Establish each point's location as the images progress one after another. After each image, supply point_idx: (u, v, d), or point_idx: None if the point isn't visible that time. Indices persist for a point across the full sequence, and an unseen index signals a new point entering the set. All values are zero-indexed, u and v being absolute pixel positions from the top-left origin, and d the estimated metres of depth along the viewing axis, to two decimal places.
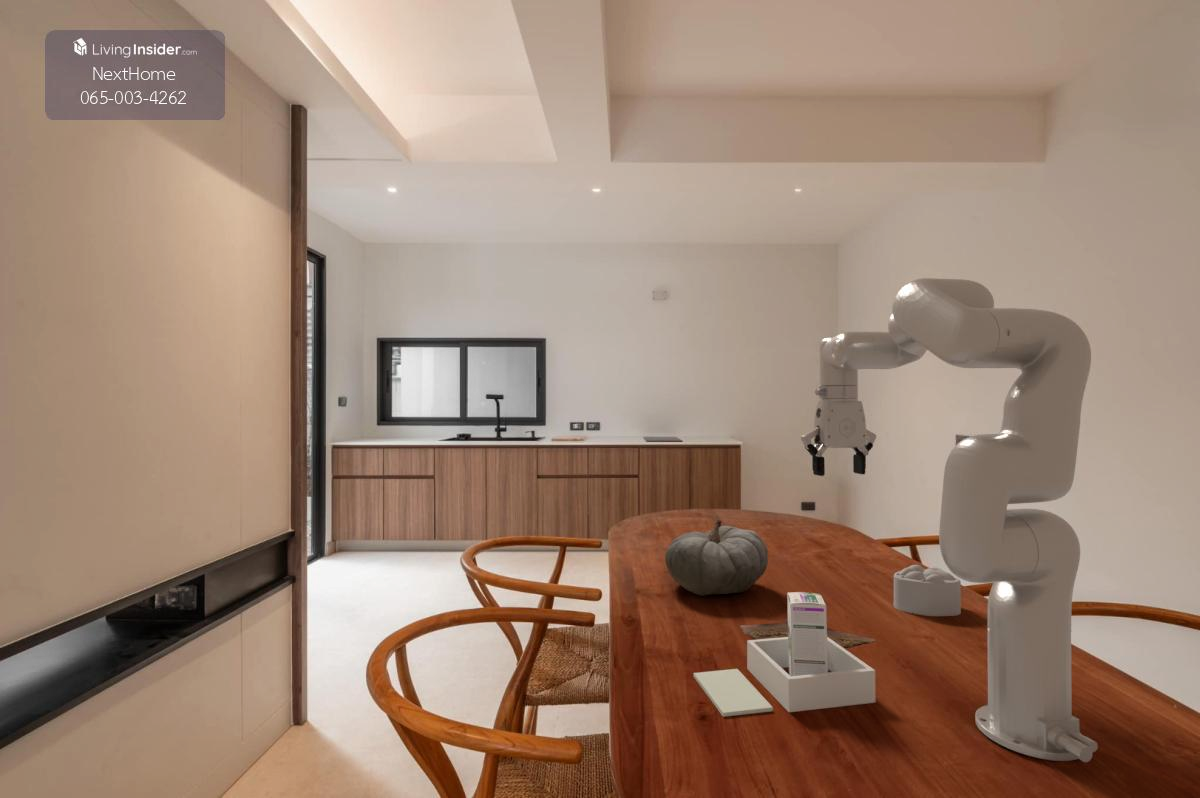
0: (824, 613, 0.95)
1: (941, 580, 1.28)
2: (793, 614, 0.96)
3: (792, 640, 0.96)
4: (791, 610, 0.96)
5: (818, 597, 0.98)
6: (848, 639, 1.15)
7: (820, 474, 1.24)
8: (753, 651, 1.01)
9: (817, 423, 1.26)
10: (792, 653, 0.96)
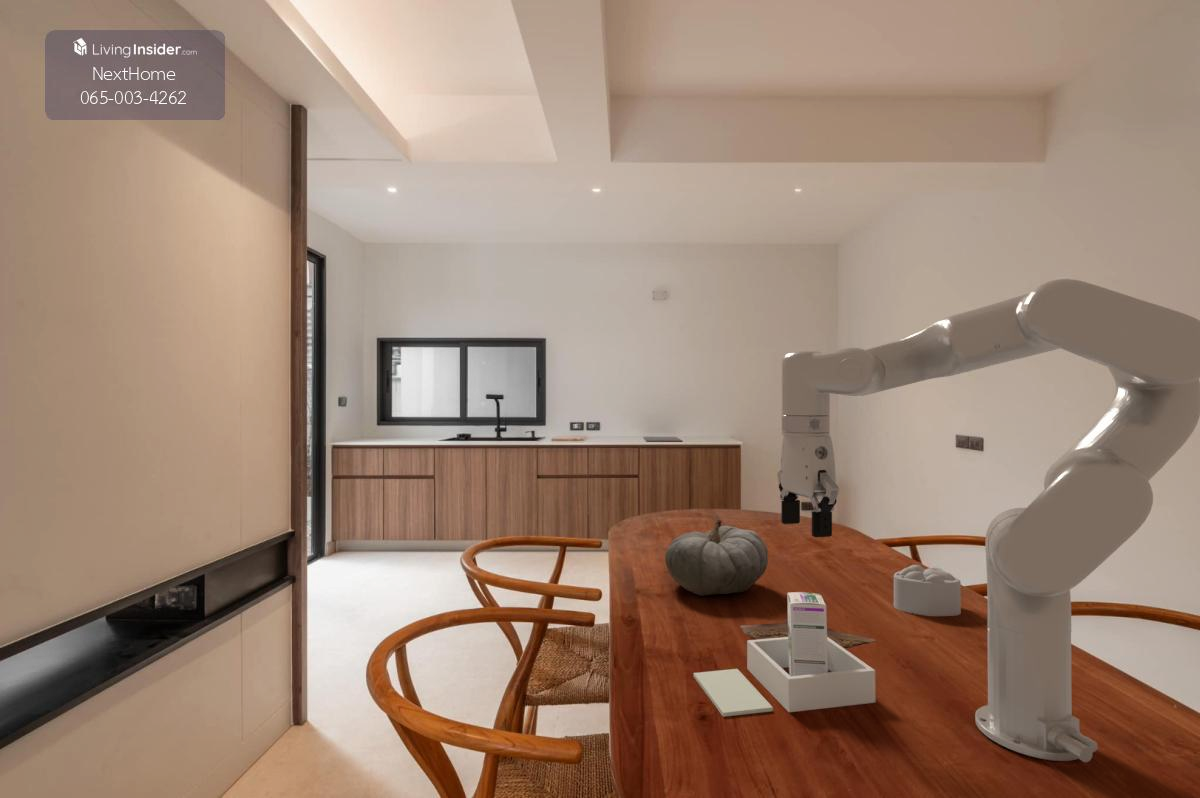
0: (824, 613, 0.95)
1: (941, 580, 1.28)
2: (793, 614, 0.96)
3: (792, 640, 0.96)
4: (791, 610, 0.96)
5: (818, 597, 0.98)
6: (848, 639, 1.15)
7: (828, 534, 0.93)
8: (753, 651, 1.01)
9: (821, 467, 0.93)
10: (792, 653, 0.96)
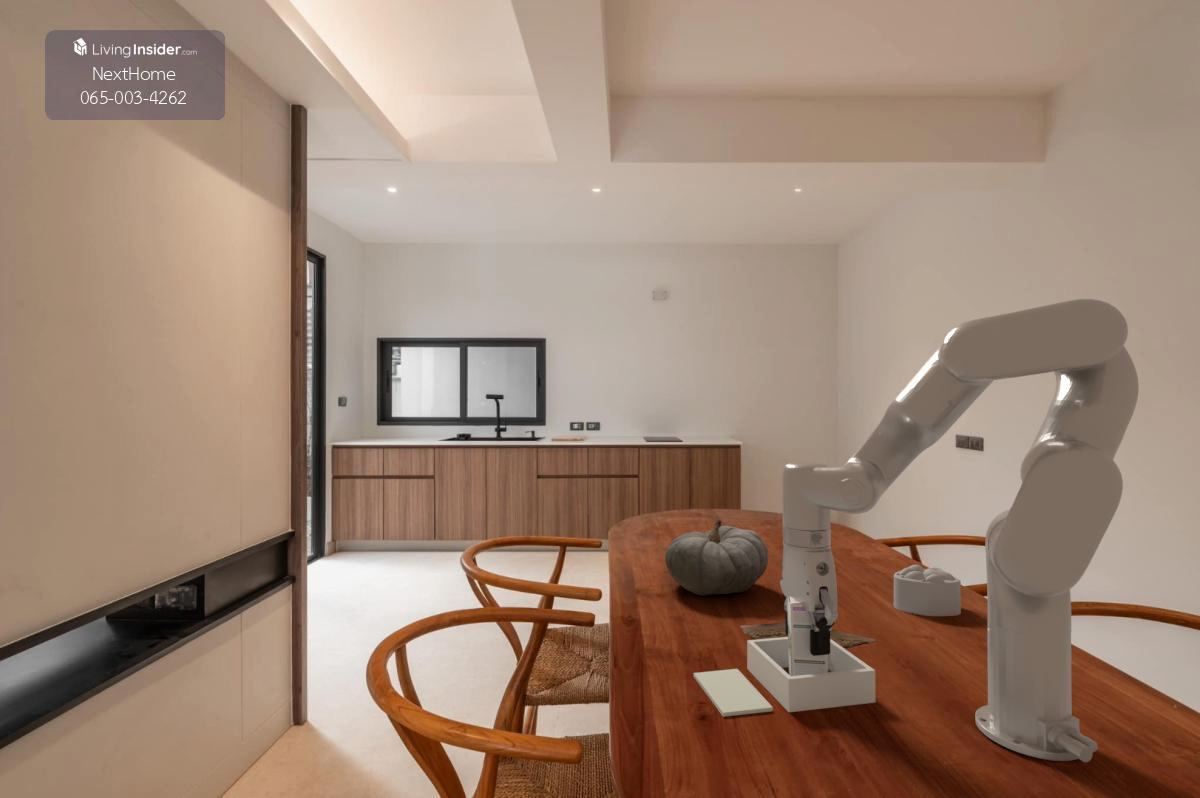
0: None
1: (941, 580, 1.28)
2: (793, 614, 0.96)
3: (792, 640, 0.96)
4: (791, 610, 0.96)
5: None
6: (848, 639, 1.15)
7: (827, 652, 0.94)
8: (753, 651, 1.01)
9: (822, 583, 0.93)
10: (792, 653, 0.96)
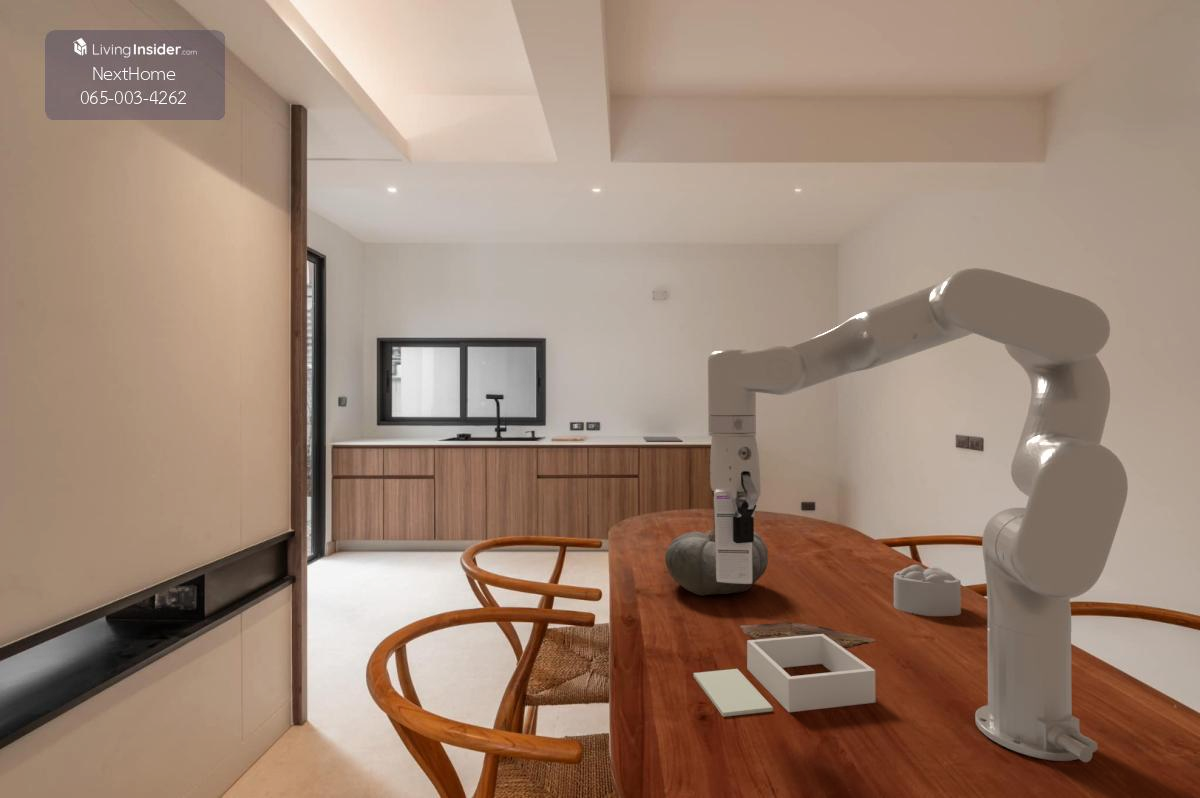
0: None
1: (941, 580, 1.28)
2: (716, 503, 0.93)
3: (716, 530, 0.93)
4: (715, 499, 0.93)
5: None
6: (848, 639, 1.15)
7: (750, 540, 0.91)
8: (753, 651, 1.01)
9: (744, 468, 0.90)
10: (716, 543, 0.93)
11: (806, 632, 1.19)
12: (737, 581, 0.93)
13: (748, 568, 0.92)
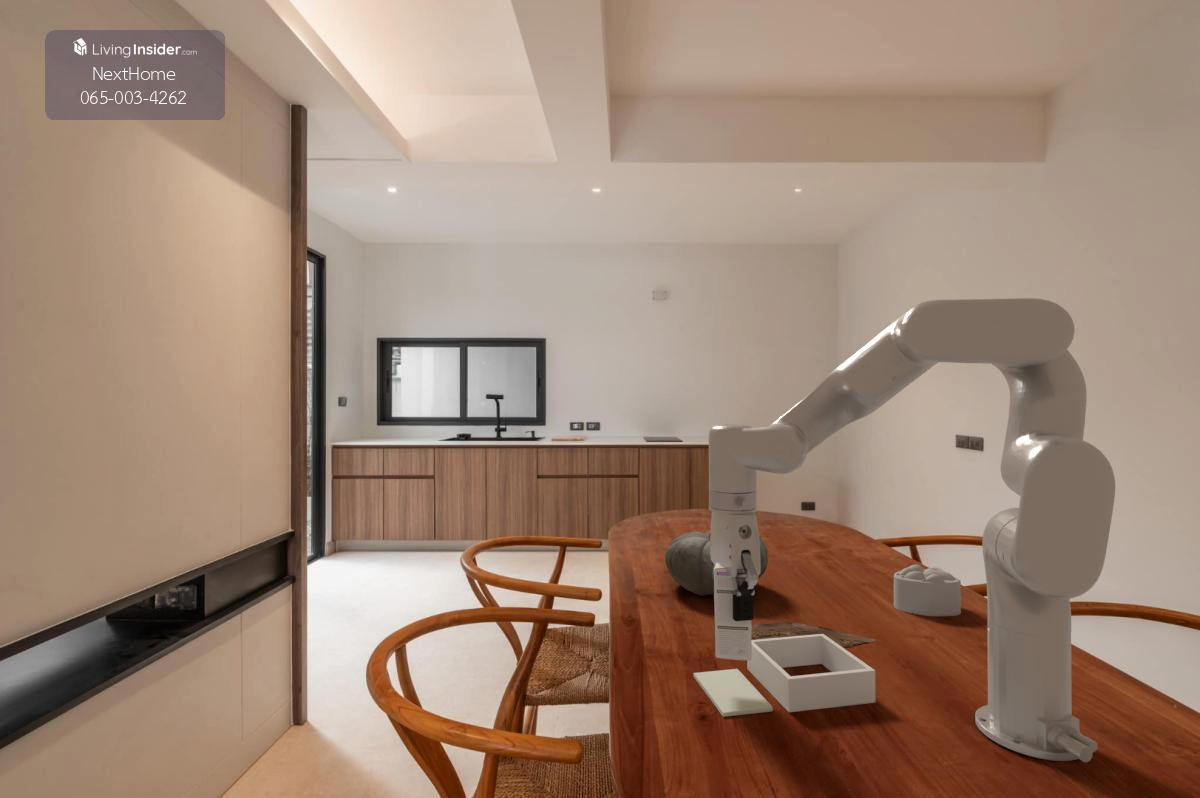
0: None
1: (941, 580, 1.28)
2: (716, 579, 0.93)
3: (715, 606, 0.93)
4: (714, 575, 0.93)
5: None
6: (848, 639, 1.15)
7: (750, 618, 0.91)
8: (753, 651, 1.01)
9: (744, 546, 0.90)
10: (715, 619, 0.93)
11: (806, 632, 1.19)
12: (736, 658, 0.93)
13: (747, 645, 0.92)
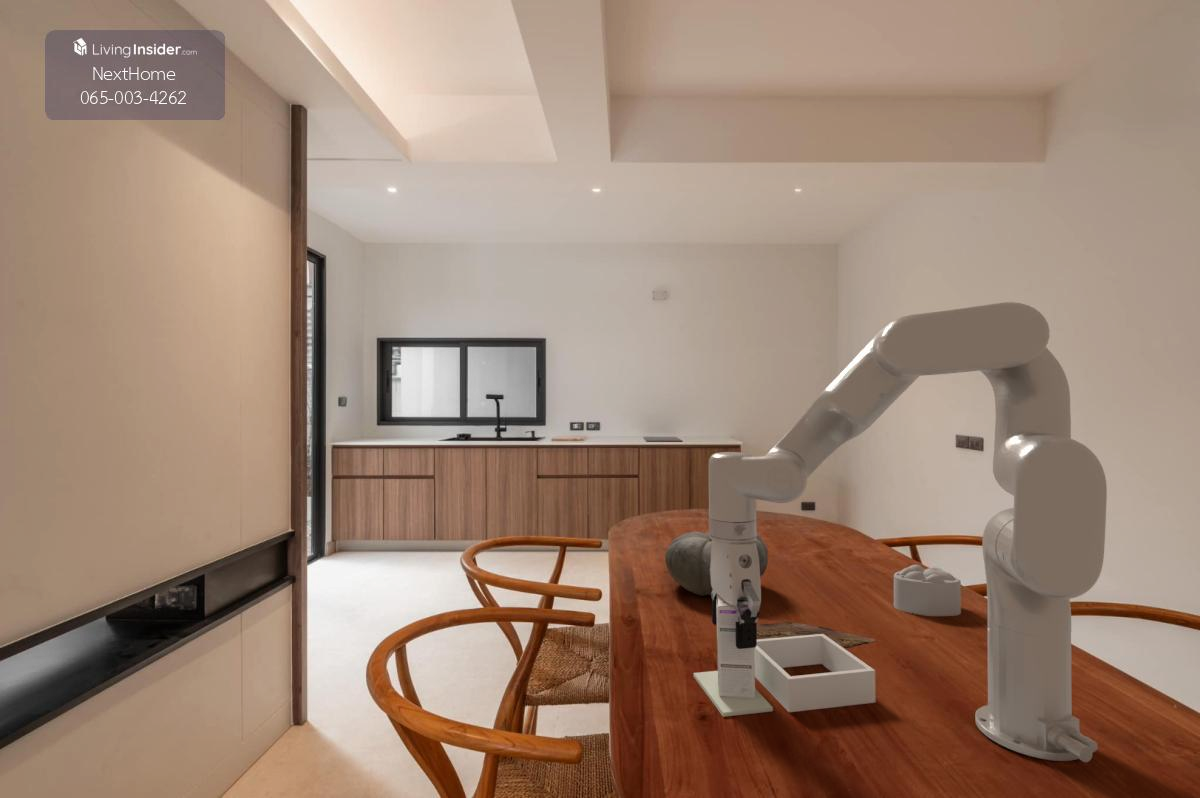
0: None
1: (941, 580, 1.28)
2: (719, 617, 0.93)
3: (718, 644, 0.93)
4: (717, 613, 0.93)
5: (746, 599, 0.95)
6: (848, 639, 1.15)
7: (753, 645, 0.91)
8: None
9: (745, 576, 0.90)
10: (718, 657, 0.93)
11: (806, 632, 1.19)
12: (740, 696, 0.92)
13: (751, 684, 0.92)
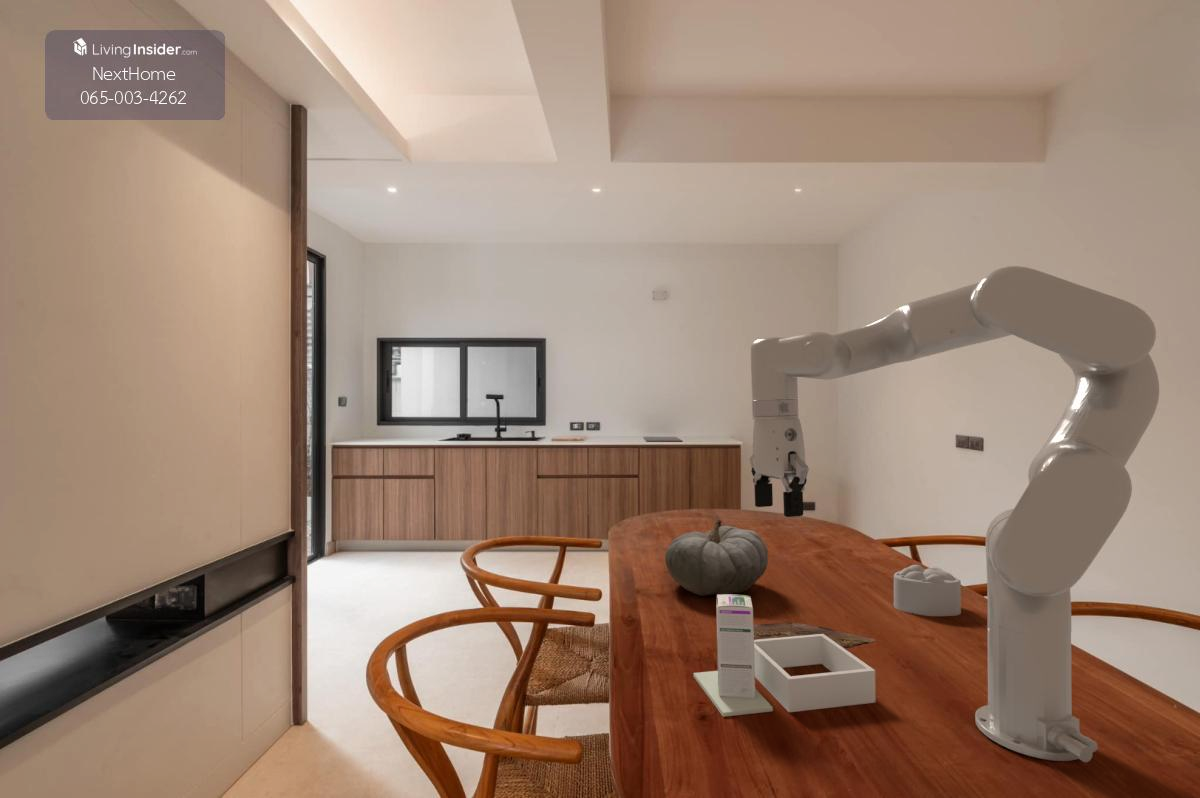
0: (751, 616, 0.92)
1: (941, 580, 1.28)
2: (719, 617, 0.93)
3: (718, 644, 0.93)
4: (717, 613, 0.93)
5: (746, 599, 0.95)
6: (848, 639, 1.15)
7: (800, 514, 0.96)
8: None
9: (791, 448, 0.96)
10: (718, 657, 0.93)
11: (806, 632, 1.19)
12: (740, 696, 0.92)
13: (751, 684, 0.92)
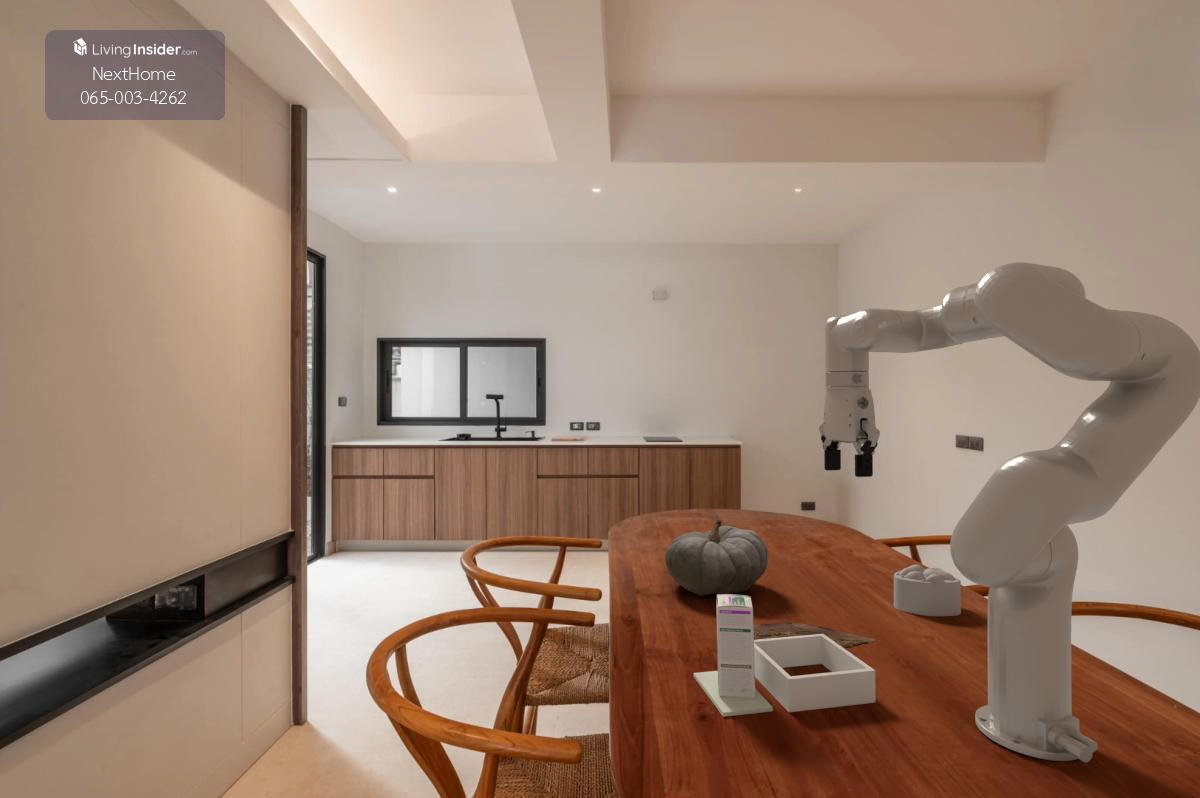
0: (751, 616, 0.92)
1: (941, 580, 1.28)
2: (719, 618, 0.93)
3: (718, 644, 0.93)
4: (717, 613, 0.93)
5: (746, 599, 0.95)
6: (848, 639, 1.15)
7: (870, 475, 1.06)
8: None
9: (862, 415, 1.06)
10: (718, 657, 0.93)
11: (806, 632, 1.19)
12: (740, 696, 0.92)
13: (751, 684, 0.92)
